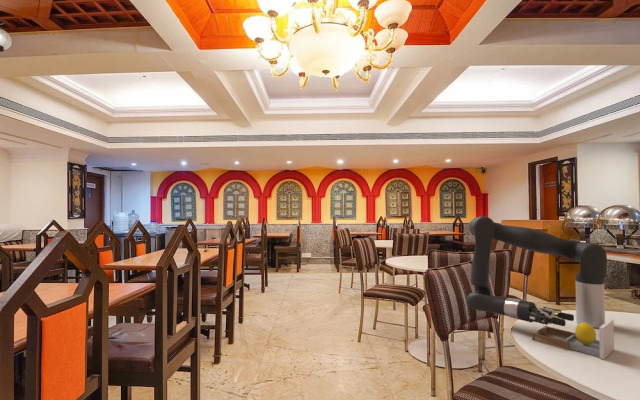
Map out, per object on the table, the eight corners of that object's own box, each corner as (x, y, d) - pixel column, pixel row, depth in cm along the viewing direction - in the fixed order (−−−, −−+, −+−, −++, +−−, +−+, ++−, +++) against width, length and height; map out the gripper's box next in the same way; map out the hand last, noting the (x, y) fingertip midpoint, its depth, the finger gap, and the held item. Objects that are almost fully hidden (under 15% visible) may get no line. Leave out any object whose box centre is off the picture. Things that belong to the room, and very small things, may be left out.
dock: (545, 332, 131) (545, 325, 131) (580, 341, 122) (580, 334, 122) (532, 340, 123) (532, 333, 123) (568, 350, 114) (568, 343, 114)
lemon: (599, 349, 112) (599, 325, 112) (580, 348, 113) (580, 324, 114) (590, 343, 118) (589, 319, 118) (572, 341, 119) (571, 318, 119)
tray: (574, 338, 123) (573, 311, 123) (614, 349, 114) (613, 319, 115) (562, 347, 116) (561, 318, 116) (603, 359, 107) (603, 328, 107)
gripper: (511, 303, 128) (562, 313, 115) (527, 296, 137) (576, 306, 124) (511, 323, 128) (562, 336, 115) (527, 315, 136) (576, 326, 124)
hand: (569, 320), depth 119 cm, fingers open, 8 cm apart
